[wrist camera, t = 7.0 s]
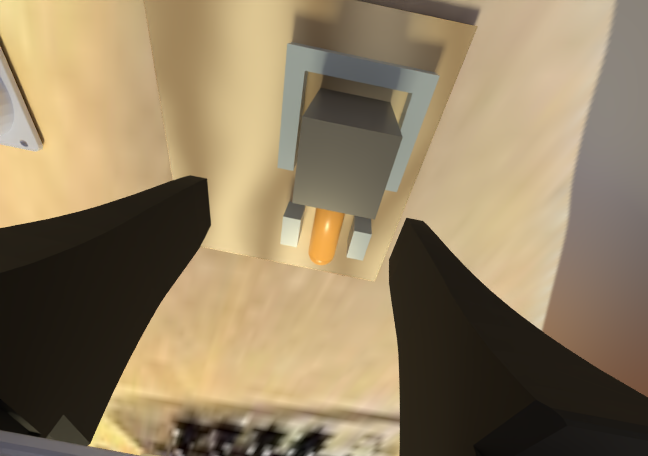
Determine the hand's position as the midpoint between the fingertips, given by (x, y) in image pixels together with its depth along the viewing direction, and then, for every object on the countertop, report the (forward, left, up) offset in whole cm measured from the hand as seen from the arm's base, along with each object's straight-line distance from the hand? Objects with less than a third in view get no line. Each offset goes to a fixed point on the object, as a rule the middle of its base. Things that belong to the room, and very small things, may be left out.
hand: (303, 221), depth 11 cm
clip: (+1, -6, -9) cm, 11 cm away
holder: (+1, +1, -9) cm, 9 cm away
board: (-2, -2, -9) cm, 10 cm away
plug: (+1, -3, -9) cm, 10 cm away
